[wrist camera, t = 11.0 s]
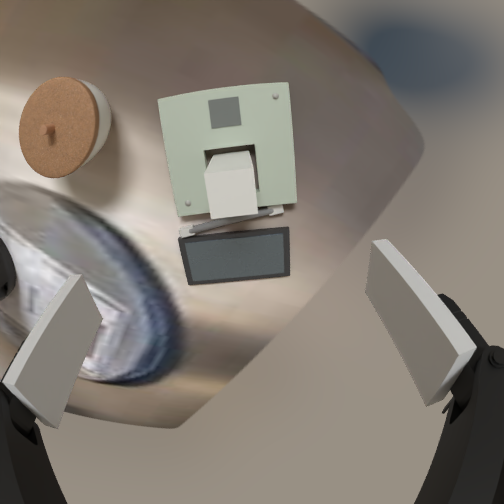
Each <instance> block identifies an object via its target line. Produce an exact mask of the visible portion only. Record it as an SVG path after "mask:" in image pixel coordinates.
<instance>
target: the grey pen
mask: <svg viewBox="0 0 504 504" xmlns="http://www.w3.org/2000/svg"><path fill="white" fill-rule="evenodd" d="M283 212H284V210H283V205H282V204H279V205H269V206H267V207H266V208H262V209H258V214H251V215H243V216H234V217H226V218H222V219H218V220H214V221H210V222H207V223H203V224H199V225H195V226H193V225H189V226H185V227H182V228H180V229H179V232H180V235H181V237H182V238H184V237H188V236H191V235H195V233H197V232H201V231H205V230H209V229H213V228H216V227H220V226H224V225H228V224H232V223H236V222H240V221H244V220H248V219H252V218H256V217H261V216H265V215H269V216H271V215H275V214H279V213H283Z"/></svg>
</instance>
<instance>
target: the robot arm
mask: <svg viewBox="0 0 504 504" xmlns="http://www.w3.org/2000/svg"><path fill="white" fill-rule="evenodd" d="M15 281H16V276H15V269H14V265H13V262H12V259H11V257H10V254H9V252H8V250H7V248H6V246H5V245H4V243H3V242H2V240H1V239H0V300H2V299H4V298H5V297H7V296H8V295H9V293H10V292H11V291H12V290H13V288H14V286H15ZM365 293H366V294H367V296H368V298H369V299H370V301H371V303H372V304H373V306H374V308H375V310H376V312H377V313H378V315H379V317H380V319H381V320H382V322H383V324H384V325H385V327H386V329H387V331H388V333H389V335H390V336H391V338H392V340H393V342H394V344H395V346H396V347H397V349H398V351H399V353H400V355H401V357H402V359H403V361H404V363H405V365H406V367H407V369H408V370H409V372H410V374H411V376H412V378H413V380H414V383H415V385H416V387H417V389H418V391H419V393H420V395H421V397H422V399H423V401H424V403H425V406H426V407H427V406H429V405H431V404H434V403H436V402H439V401H441V400H443V399H444V398H445V396H446V395H447V393H448V392H449V391H450V390H451V392H452V394H453V397H452V399H451V400H450V401H449V403H448V404H447V405H446V406H445V408H444V409H443V411H442V413H443V414H444V413H445V412H446V411H447V410H448V413H447V417H446V421H445V425H444V428H443V431H442V434H441V438H440V441H439V444H438V447H437V450H436V453H435V456H434V458H433V461H432V464H431V466H430V469H429V472H428V474H427V476H426V479H425V481H424V483H423V486H422V488H421V490H420V492H419V494H418V497H417V499H416V501H415V503H414V504H504V349H503V348H501V347H499V346H489V345H488V344H487V343H486V341H485V340H484V339H483V337H482V336H481V335H480V334H479V332H478V331H477V329H476V328H475V327H474V325H473V324H472V323H471V322H470V320H469V319H467V317H466V315H465V314H464V313H463V312H461V309H460V308H459V307H458V306H457V304H456V303H455V302H454V301H453V300H452V299H450V298H449V297H447V296H446V295H444V294H439V295H437V294H436V293H435V292H434V291H433V290H432V288H431V287H430V286H429V285H428V284H427V282H426V281H425V280H424V279H423V278H422V277H421V276H420V274H419V273H418V272H417V271H416V270H415V269H414V268H413V267H412V266H411V264H410V263H409V262H408V261H407V260H406V259H405V258H404V257H403V256H402V254H401V253H399V251H398V250H397V249H396V248H395V247H394V246H393V245H392V244H391V243H390V242H389V241H388V240H387V239H384V240H376V241H372V244H371V253H370V262H369V269H368V277H367V284H366V290H365ZM102 320H103V318H102V316H101V314H100V312H99V310H98V308H97V306H96V304H95V302H94V300H93V298H92V296H91V293H90V291H89V289H88V287H87V285H86V282H85V280H84V278H83V275H82V274H80V275H71V276H70V277H69V278H68V279H67V281H66V282H65V283H64V285H63V286H62V287H61V289H60V290H59V291H58V293H57V294H56V295H55V297H54V298H53V300H52V301H51V302H50V304H49V305H48V307H47V308H46V310H45V311H44V313H43V314H42V315H41V317H40V318H39V320H38V322H37V323H36V325H35V326H34V328H33V329H32V331H31V332H30V334H29V336H28V337H27V338H26V339H25V340H24V341H23V343H22V344H21V346H20V348H19V349H18V353H16V355H15V356H14V360H12V362H11V363H10V365H9V367H8V369H7V371H6V372H5V374H4V376H3V378H2V380H1V382H0V504H67V502H66V500H65V497H64V495H63V493H62V491H61V489H60V486H59V484H58V482H57V479H56V477H55V475H54V472H53V469H52V467H51V464H50V461H49V458H48V455H47V452H46V449H45V446H44V443H43V440H42V436H41V433H40V429H39V427H38V425H37V424H36V423H35V422H34V421H35V419H36V417H37V418H38V419H39V420H40V421H41V422H42V423H43V424H44V425H46V426H50V427H53V428H56V429H58V427H59V424H60V421H61V418H62V415H63V412H64V410H65V407H66V404H67V401H68V399H69V396H70V393H71V391H72V388H73V386H74V383H75V381H76V378H77V376H78V373H79V371H80V368H81V366H82V364H83V361H84V359H85V357H86V354H87V352H88V350H89V348H90V346H91V343H92V341H93V339H94V337H95V335H96V333H97V330H98V328H99V326H100V324H101V322H102ZM448 408H449V409H448Z"/></svg>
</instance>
